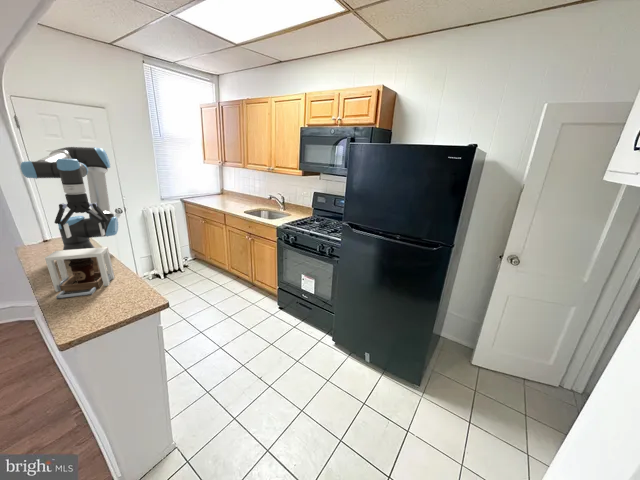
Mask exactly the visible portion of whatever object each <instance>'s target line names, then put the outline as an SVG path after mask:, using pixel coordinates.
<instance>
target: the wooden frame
mask: <svg viewBox="0 0 640 480" xmlns="http://www.w3.org/2000/svg"><path fill="white" fill-rule="evenodd" d="M90 258H91V259H92V260H93V261H94V263H93V268H94V277H95V279H97V280H95V282H88V283H79V284H78V283H75V282H77V281H76V279H75V277H74V275H73V274H71V276H70V277H69V279H68V280H66V281H65V282H64V283H63V284H62V285H61V286H60V288H61V291H65V292H73V291H81V290H90V289H92V288H93V287H96V289H99V288H100V287H101V286H102V285H103V281H102V277H101V272H100V268H99V264H98V260H97V257H90ZM107 274H108V273H107ZM61 291H60V292H61Z"/></svg>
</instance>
